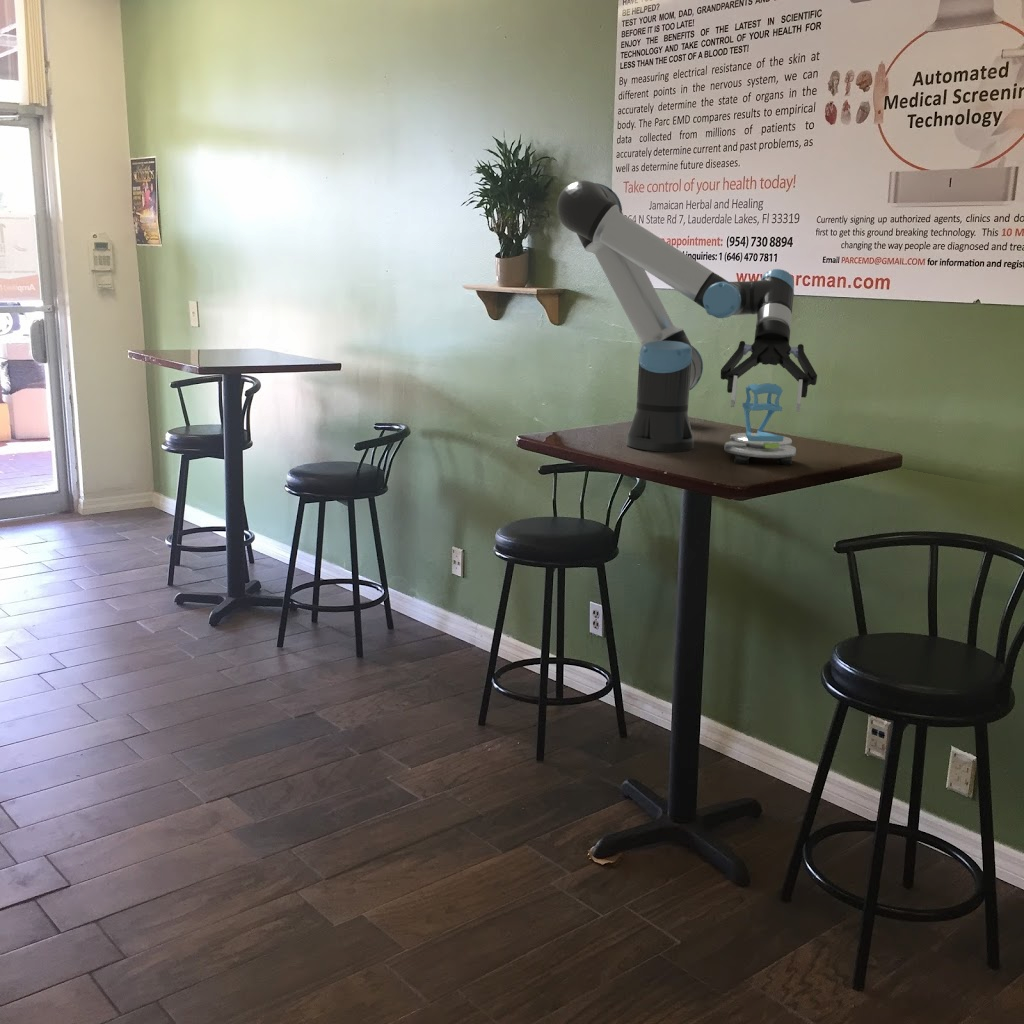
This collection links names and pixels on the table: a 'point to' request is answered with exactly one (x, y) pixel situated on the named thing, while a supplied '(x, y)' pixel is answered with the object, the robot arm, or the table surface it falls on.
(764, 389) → the chair
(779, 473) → the table surface
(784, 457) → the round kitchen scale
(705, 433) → the table surface
